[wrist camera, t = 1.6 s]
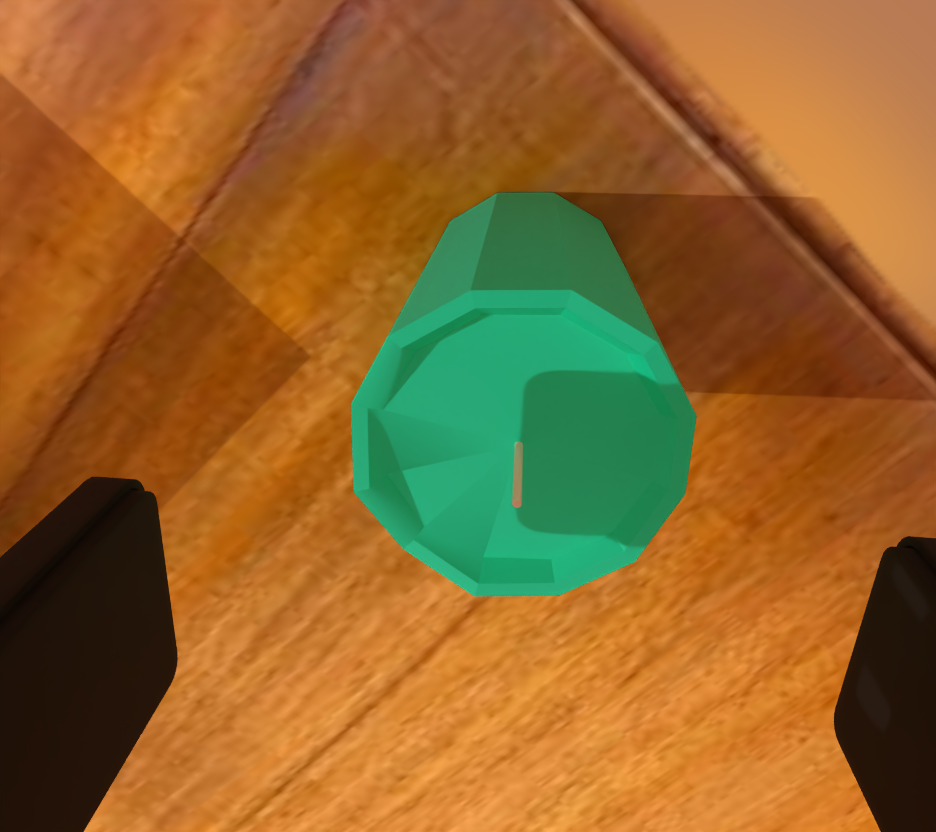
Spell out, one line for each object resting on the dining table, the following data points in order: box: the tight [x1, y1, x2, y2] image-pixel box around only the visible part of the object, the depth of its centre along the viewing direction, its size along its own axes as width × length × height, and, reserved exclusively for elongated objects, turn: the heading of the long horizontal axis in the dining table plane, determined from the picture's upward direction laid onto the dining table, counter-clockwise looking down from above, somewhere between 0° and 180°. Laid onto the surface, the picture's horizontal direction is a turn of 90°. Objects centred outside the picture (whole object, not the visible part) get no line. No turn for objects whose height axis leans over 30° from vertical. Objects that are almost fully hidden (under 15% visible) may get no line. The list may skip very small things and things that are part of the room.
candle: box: [351, 192, 697, 596], centre depth 17 cm, size 6×6×12 cm
